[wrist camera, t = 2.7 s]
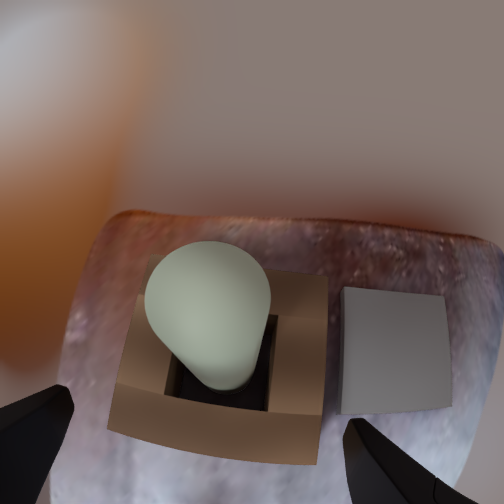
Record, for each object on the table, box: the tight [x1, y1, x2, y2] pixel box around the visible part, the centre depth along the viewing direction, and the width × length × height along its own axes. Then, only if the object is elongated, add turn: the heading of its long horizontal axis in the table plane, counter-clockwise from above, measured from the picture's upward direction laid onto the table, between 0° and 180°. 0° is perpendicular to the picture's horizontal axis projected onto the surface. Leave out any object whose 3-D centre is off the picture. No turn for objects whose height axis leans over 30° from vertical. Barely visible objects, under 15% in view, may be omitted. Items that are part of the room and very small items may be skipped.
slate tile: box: [336, 286, 452, 415], centre depth 19 cm, size 9×9×1 cm
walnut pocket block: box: [107, 254, 328, 465], centre depth 17 cm, size 11×11×4 cm
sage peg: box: [145, 241, 271, 395], centre depth 13 cm, size 4×4×12 cm
